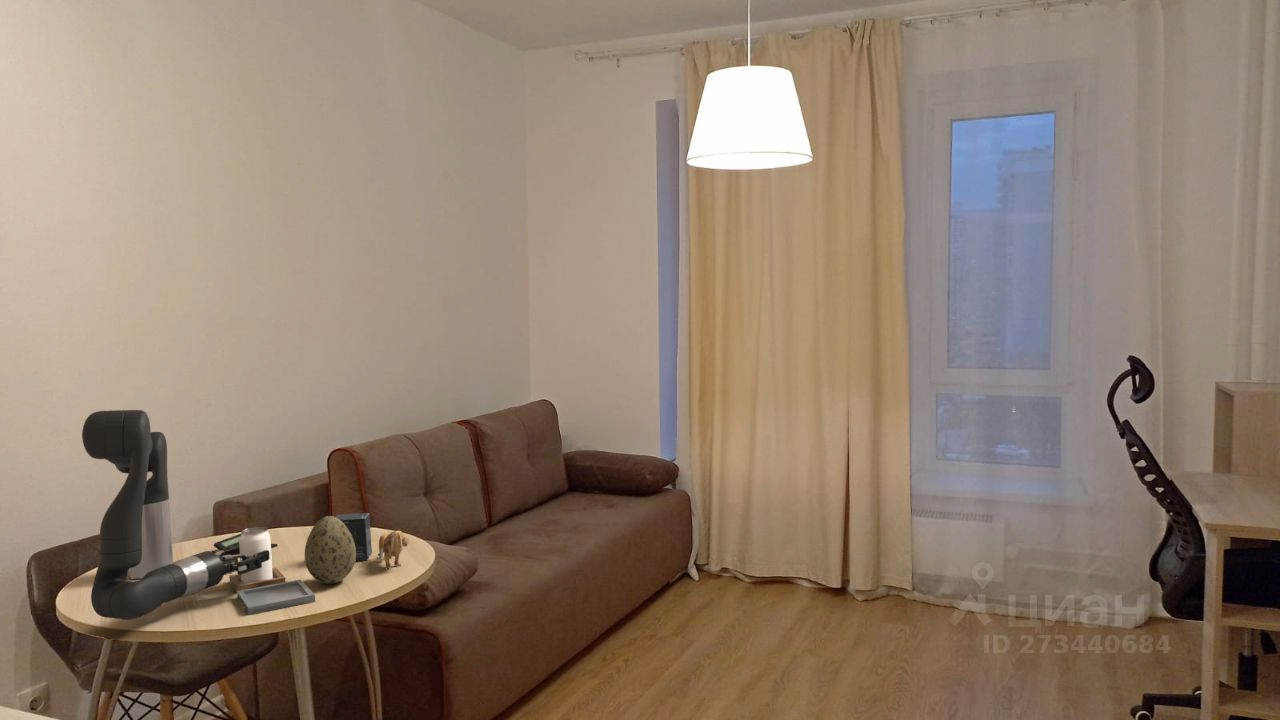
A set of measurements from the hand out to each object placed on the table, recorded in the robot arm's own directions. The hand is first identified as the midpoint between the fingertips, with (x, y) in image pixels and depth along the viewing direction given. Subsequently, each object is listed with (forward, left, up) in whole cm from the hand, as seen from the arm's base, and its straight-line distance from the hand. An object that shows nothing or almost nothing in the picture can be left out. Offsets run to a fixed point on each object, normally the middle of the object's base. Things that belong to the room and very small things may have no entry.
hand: (253, 553), depth 205 cm
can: (0, 0, -7) cm, 7 cm away
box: (+23, +6, -7) cm, 25 cm away
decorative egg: (+14, -10, -7) cm, 19 cm away
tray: (+1, -15, -7) cm, 16 cm away
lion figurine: (+30, -4, -7) cm, 31 cm away
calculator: (+3, +32, -8) cm, 33 cm away
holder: (0, 0, -7) cm, 7 cm away
